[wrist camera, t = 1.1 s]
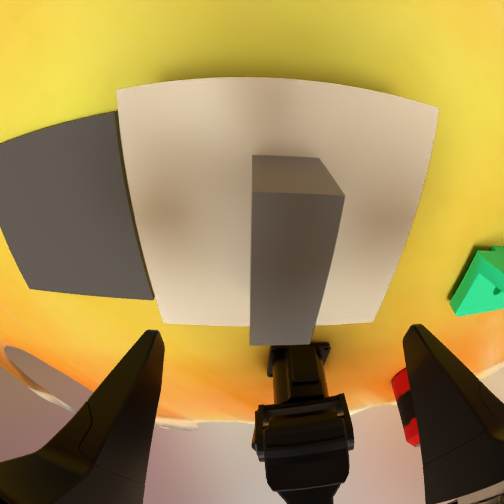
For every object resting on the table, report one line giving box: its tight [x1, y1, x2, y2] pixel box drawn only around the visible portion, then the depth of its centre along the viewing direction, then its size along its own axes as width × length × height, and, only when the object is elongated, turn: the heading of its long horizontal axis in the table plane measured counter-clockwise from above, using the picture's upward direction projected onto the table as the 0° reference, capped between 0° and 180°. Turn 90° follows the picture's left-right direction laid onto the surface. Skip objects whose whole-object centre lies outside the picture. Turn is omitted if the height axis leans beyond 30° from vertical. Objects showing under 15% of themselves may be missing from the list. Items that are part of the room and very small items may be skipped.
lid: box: [116, 77, 439, 345], centre depth 13 cm, size 15×15×5 cm
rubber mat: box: [0, 111, 155, 300], centre depth 19 cm, size 16×16×1 cm
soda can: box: [392, 368, 420, 447], centre depth 30 cm, size 8×8×12 cm
